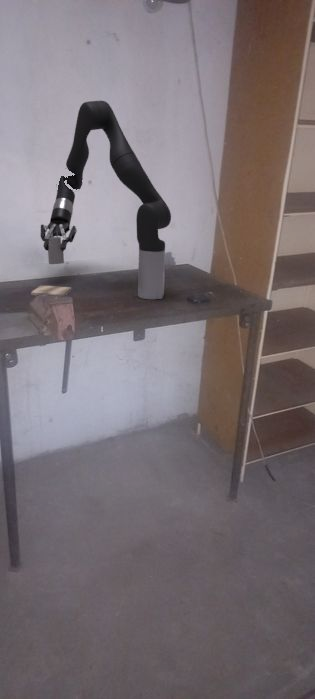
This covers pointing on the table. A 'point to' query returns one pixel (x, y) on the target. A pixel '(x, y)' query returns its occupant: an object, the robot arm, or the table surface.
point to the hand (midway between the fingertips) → (54, 249)
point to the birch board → (51, 290)
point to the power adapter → (55, 250)
